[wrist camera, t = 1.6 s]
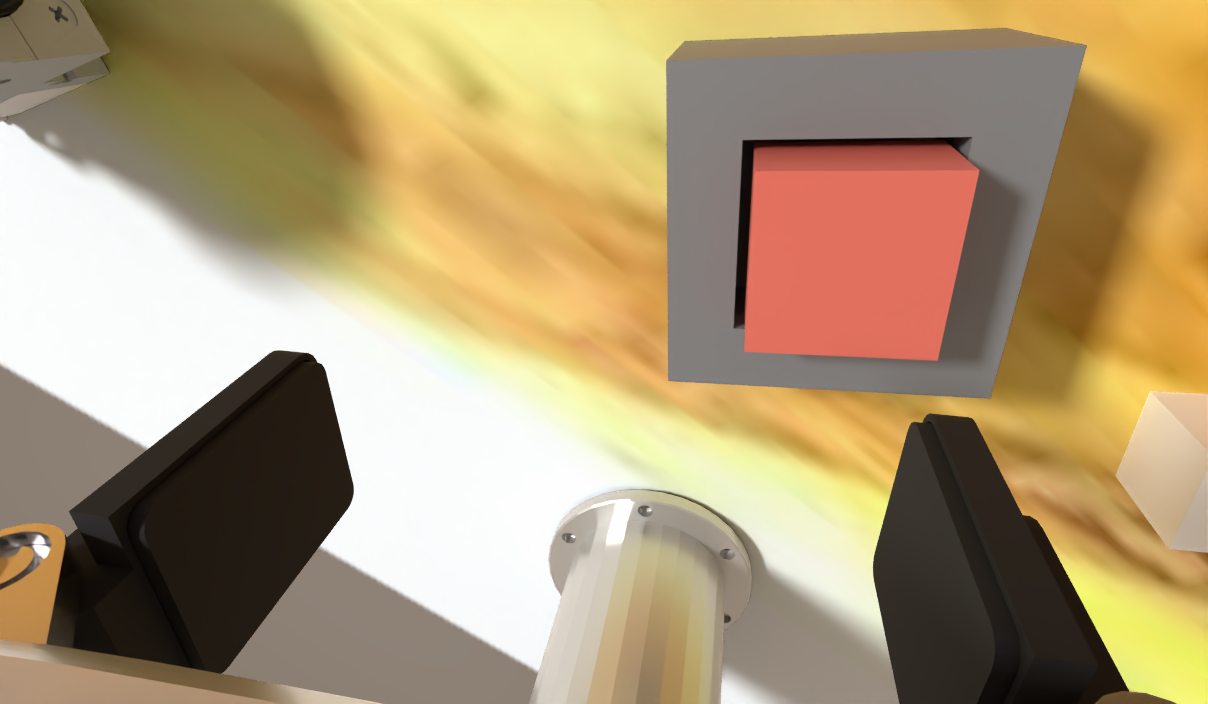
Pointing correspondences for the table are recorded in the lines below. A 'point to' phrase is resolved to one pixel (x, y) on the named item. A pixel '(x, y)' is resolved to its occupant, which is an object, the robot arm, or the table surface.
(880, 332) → the breaker button
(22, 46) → the circuit breaker
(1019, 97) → the box
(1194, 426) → the cap
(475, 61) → the table surface
